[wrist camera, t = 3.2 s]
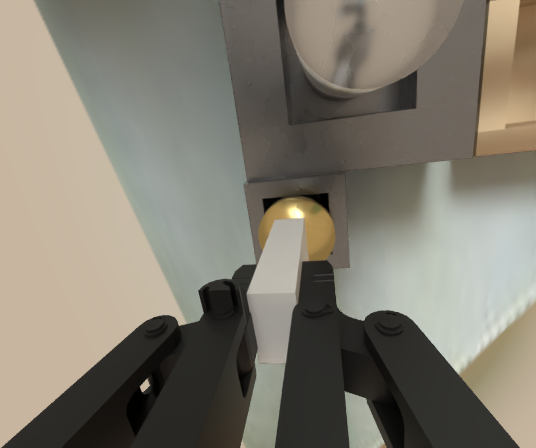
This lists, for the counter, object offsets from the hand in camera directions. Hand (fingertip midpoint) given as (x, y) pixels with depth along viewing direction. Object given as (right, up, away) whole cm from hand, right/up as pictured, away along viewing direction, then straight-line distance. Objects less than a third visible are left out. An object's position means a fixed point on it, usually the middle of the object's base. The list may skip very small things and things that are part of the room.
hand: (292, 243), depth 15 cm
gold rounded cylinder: (+1, +3, +8) cm, 9 cm away
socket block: (+4, +10, +8) cm, 14 cm away
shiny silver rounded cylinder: (+4, +12, +4) cm, 13 cm away
